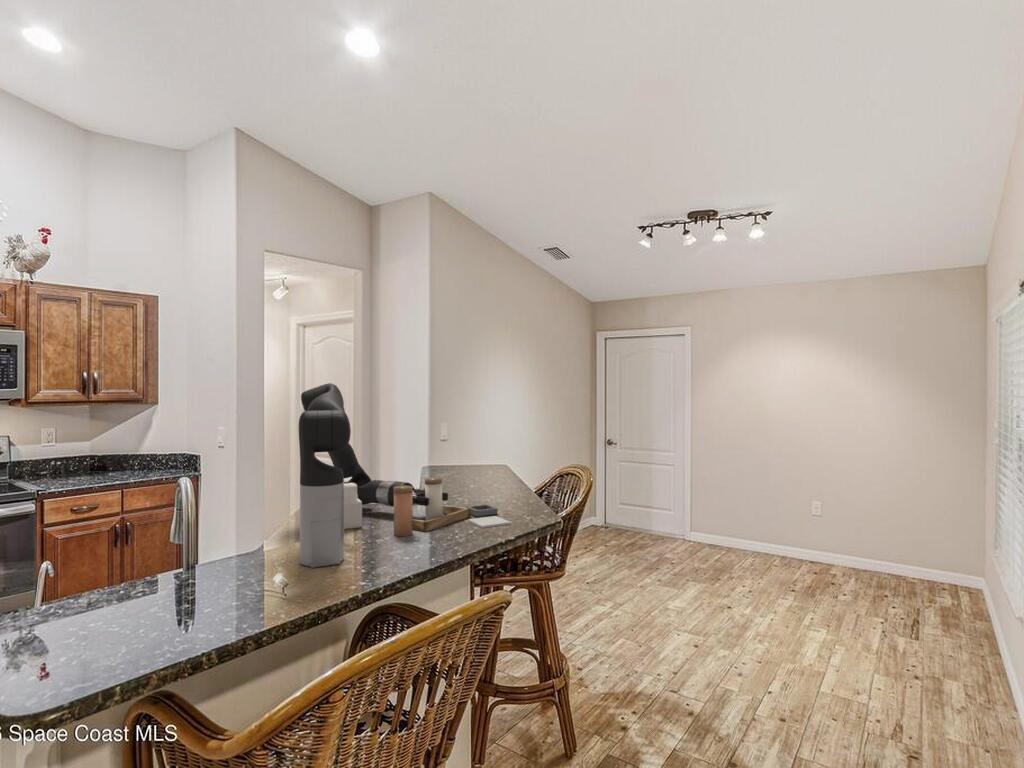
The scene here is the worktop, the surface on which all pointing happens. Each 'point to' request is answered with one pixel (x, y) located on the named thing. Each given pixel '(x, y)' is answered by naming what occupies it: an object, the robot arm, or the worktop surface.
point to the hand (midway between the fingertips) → (438, 499)
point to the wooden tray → (442, 518)
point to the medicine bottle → (352, 506)
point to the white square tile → (489, 521)
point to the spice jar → (433, 497)
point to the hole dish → (482, 510)
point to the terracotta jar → (402, 510)
